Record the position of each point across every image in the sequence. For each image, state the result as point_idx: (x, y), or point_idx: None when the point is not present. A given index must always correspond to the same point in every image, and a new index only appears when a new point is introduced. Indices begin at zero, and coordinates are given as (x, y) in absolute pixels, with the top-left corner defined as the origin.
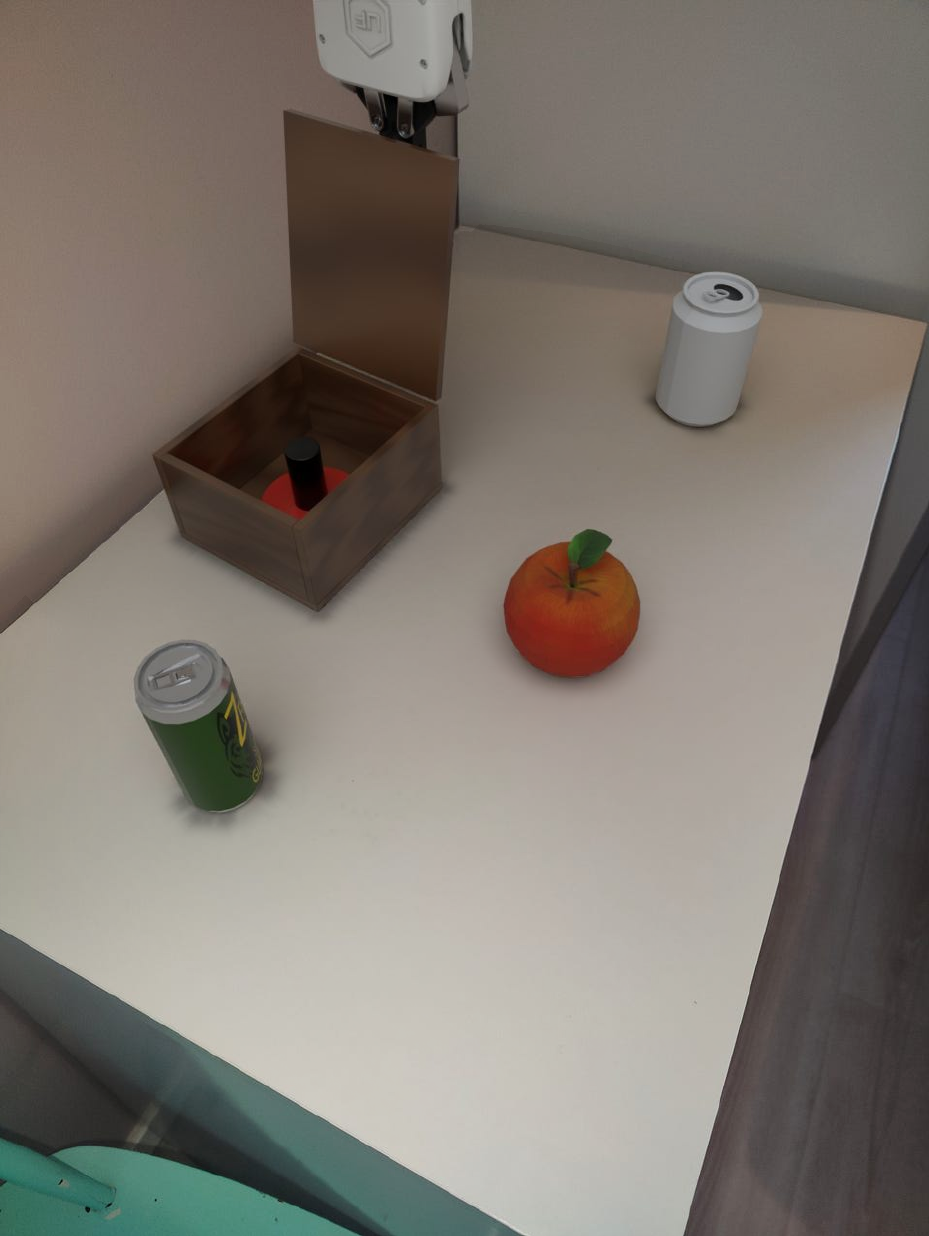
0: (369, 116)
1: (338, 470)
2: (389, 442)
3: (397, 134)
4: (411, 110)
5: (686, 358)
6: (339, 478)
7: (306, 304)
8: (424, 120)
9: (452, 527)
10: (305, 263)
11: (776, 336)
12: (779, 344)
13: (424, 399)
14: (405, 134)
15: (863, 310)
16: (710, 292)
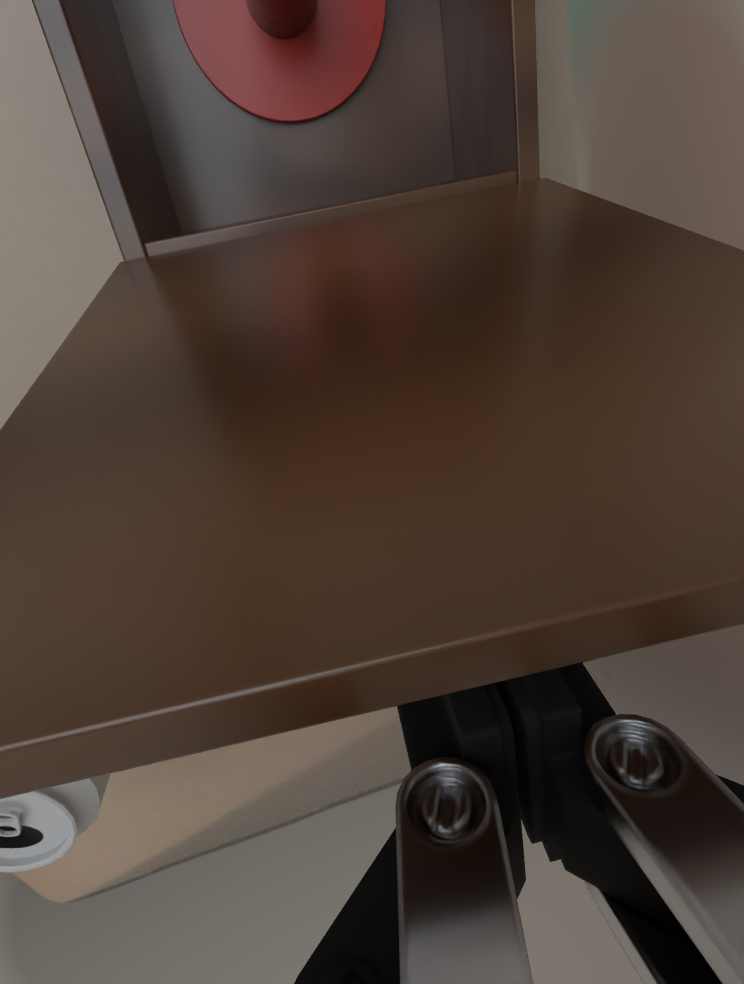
0: (695, 760)
1: (314, 113)
2: (71, 62)
3: (498, 758)
4: (405, 957)
5: None
6: (294, 96)
7: (546, 208)
8: (344, 922)
9: (74, 188)
10: (599, 233)
11: (137, 801)
12: (121, 795)
13: None
14: (442, 781)
15: (109, 885)
16: (11, 820)
